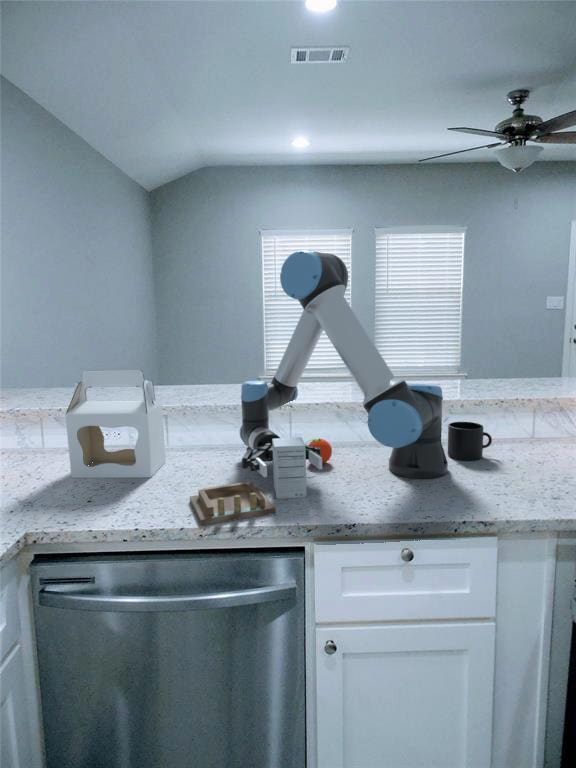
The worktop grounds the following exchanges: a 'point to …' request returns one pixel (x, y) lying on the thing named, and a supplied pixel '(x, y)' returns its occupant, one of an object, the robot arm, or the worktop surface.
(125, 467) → the gable box
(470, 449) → the mug
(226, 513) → the brown shallow tray
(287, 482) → the supplement box
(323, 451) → the clementine
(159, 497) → the worktop surface
